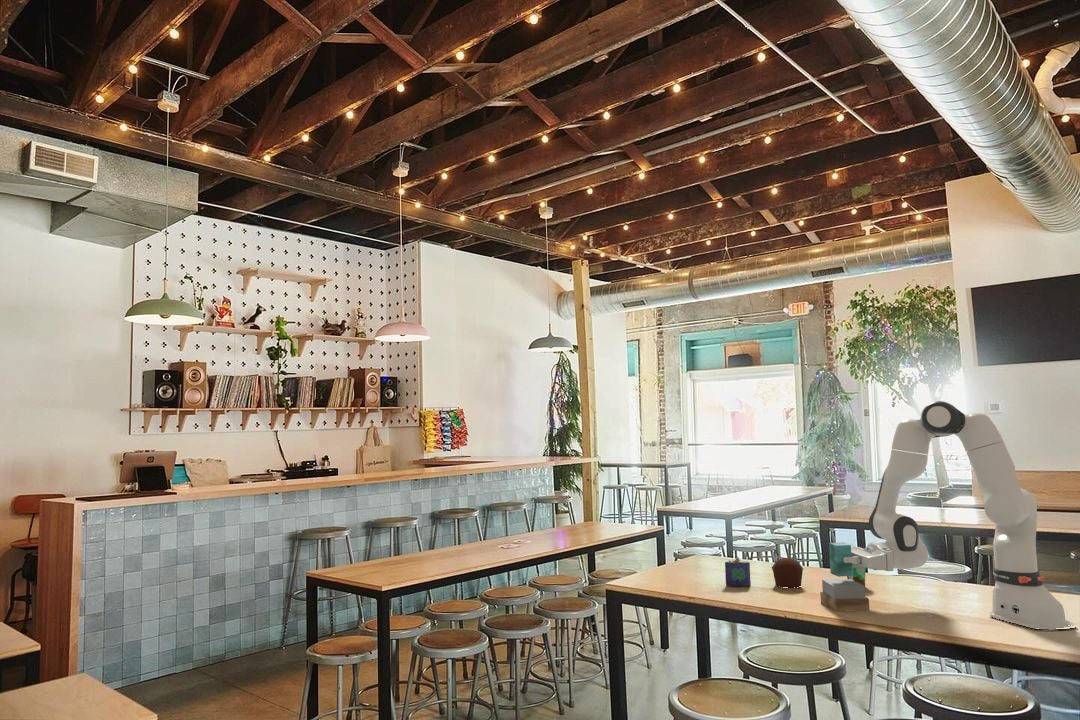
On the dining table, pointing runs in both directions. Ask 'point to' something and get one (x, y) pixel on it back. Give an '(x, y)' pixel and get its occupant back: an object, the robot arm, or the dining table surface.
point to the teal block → (840, 559)
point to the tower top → (843, 589)
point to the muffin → (787, 573)
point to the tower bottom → (844, 603)
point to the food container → (858, 574)
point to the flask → (737, 573)
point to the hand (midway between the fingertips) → (838, 557)
